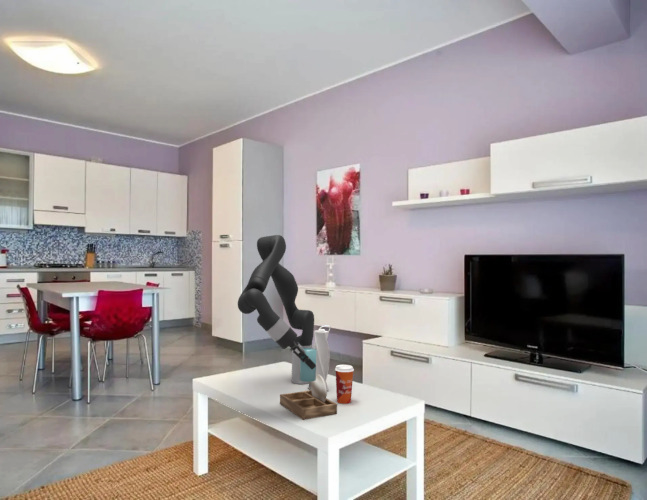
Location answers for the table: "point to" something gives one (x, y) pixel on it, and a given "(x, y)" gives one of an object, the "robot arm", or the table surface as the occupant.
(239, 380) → the table surface
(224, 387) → the table surface
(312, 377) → the teal dome-topped cylinder
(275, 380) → the table surface
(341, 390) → the paper cup
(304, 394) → the tray
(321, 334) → the skyscraper
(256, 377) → the table surface
